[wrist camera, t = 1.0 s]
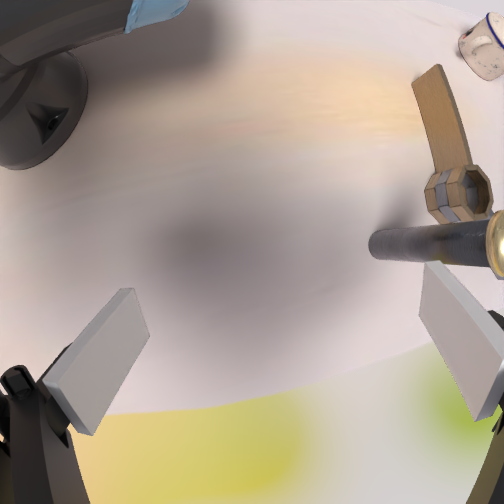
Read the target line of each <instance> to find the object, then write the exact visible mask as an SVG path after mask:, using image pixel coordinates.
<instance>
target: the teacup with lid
mask: <svg viewBox="0 0 504 504" xmlns="http://www.w3.org/2000/svg"><path fill="white" fill-rule="evenodd" d="M459 48H460V51H461V53H462V55H463V57H464V59H465V61H466V62H467V63H468V65H469V66H470V67H471V69H472V70H473V71H474V72H475V73H476V74H478V75H479V76H480V77H482V78H483V79H485V80H489V81H491V80H494V79H496V78H497V77H499V76H501V75H503V74H504V17H503V16H501V15H500V14H498V13H494V12H491V13H488V14H487V15H486V17H485V18H484V19H483V20H481V21H480V22H479V23H478V24H476V25H475V26H474V27H473V28H472V29H470V30H469V31H468V32H467V33H465V34H464V35H463V36H462V37H461V38H460V39H459Z"/></svg>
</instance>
